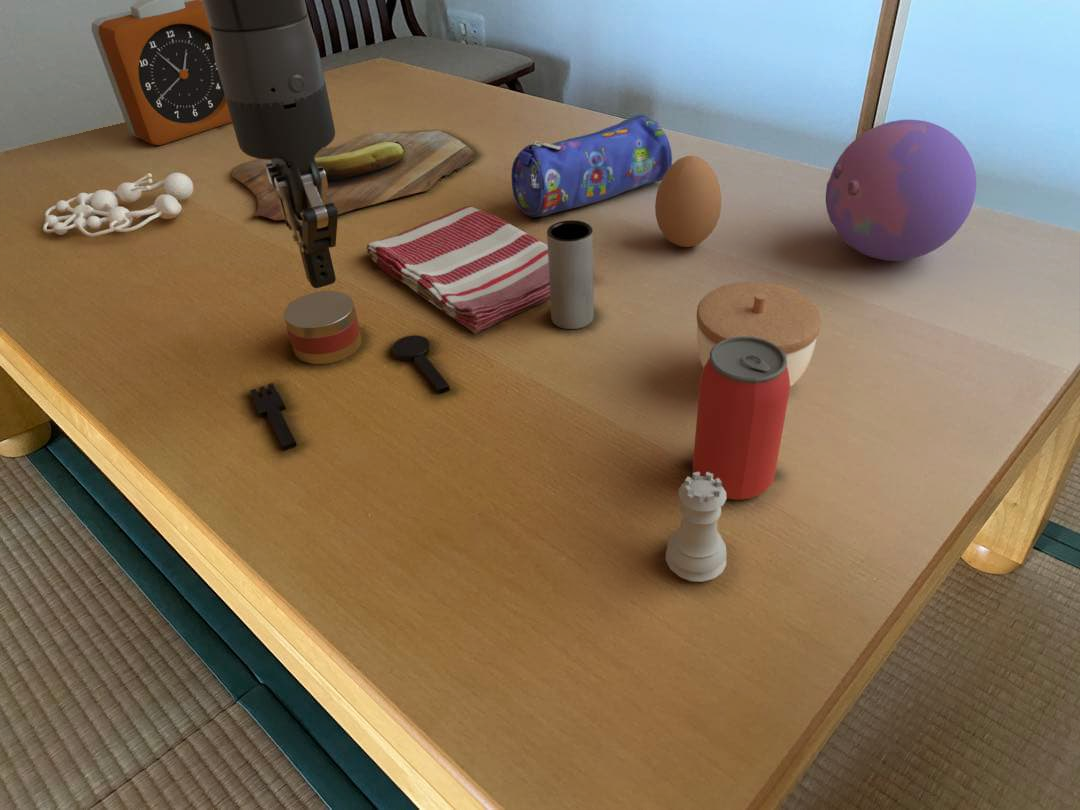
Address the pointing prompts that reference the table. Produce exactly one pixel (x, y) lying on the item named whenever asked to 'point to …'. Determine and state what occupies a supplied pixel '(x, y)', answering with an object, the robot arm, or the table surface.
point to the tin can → (323, 327)
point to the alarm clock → (163, 69)
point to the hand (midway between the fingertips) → (322, 282)
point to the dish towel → (469, 266)
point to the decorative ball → (901, 190)
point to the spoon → (420, 359)
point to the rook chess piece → (698, 531)
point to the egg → (688, 202)
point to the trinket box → (760, 321)
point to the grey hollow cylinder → (571, 273)
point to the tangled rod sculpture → (118, 216)
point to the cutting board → (369, 169)
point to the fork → (274, 414)
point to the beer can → (741, 415)
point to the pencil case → (590, 166)
